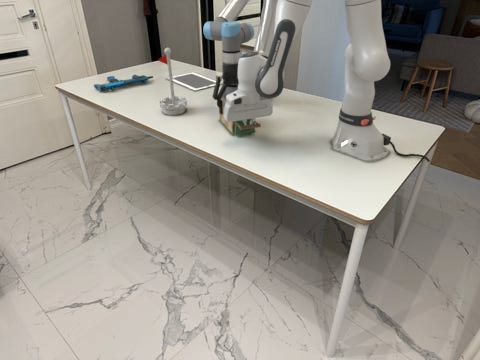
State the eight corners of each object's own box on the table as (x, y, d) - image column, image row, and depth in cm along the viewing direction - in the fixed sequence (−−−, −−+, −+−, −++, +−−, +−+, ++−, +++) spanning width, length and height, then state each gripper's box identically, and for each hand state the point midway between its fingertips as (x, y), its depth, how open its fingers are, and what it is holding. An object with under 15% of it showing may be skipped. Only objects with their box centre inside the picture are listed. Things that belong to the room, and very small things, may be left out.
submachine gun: (139, 69, 223) (157, 75, 206) (140, 75, 225) (158, 81, 208) (86, 79, 204) (101, 87, 188) (88, 85, 206) (103, 94, 190)
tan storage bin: (253, 131, 149) (254, 110, 144) (232, 135, 146) (232, 113, 141) (239, 117, 163) (239, 97, 157) (219, 120, 160) (218, 100, 154)
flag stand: (184, 104, 177) (178, 43, 160) (190, 113, 167) (184, 49, 150) (159, 107, 173) (150, 46, 156) (163, 117, 163) (155, 52, 146)
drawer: (260, 137, 142) (261, 119, 138) (240, 141, 140) (240, 123, 135) (241, 118, 159) (241, 102, 155) (223, 121, 157) (222, 104, 152)
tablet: (166, 78, 215) (166, 78, 215) (192, 72, 226) (192, 72, 226) (195, 91, 195) (194, 90, 195) (222, 83, 206) (222, 83, 206)
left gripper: (252, 57, 150) (251, 105, 162) (203, 62, 143) (206, 112, 155) (259, 61, 144) (258, 111, 156) (208, 67, 137) (211, 118, 149)
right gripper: (269, 90, 139) (267, 121, 146) (222, 96, 133) (223, 128, 140) (276, 94, 134) (274, 127, 141) (227, 101, 128) (228, 135, 135)
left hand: (232, 111), depth 156 cm, fingers closed on tan storage bin, 10 cm apart
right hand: (248, 128), depth 141 cm, fingers closed
